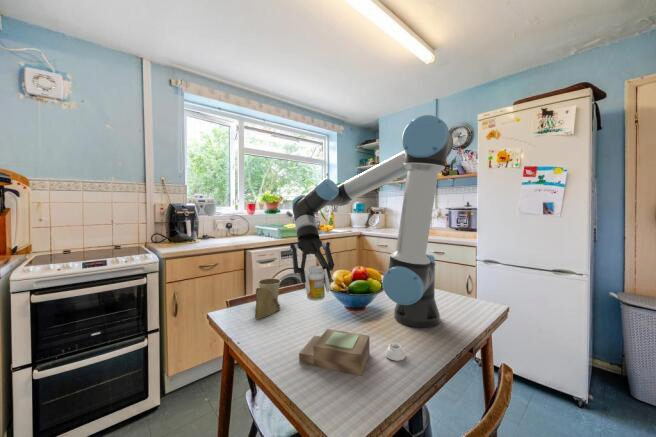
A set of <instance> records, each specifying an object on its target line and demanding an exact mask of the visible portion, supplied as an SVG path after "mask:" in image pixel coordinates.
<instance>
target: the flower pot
mask: <svg viewBox="0 0 656 437" xmlns="http://www.w3.org/2000/svg"><path fill="white" fill-rule="evenodd" d="M281 282H282V279H279V278H275V277H274V278H263V279H260V280H258V281H257V284H258V286H259V287H258V288H265V289H267V290H269V291H271V293H272V294H273V296H274V297H275V298H276V299H277V301H278V299H279V298H278V297H279V292H280V286H281Z"/></svg>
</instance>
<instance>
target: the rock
mask: <svg viewBox="0 0 656 437" xmlns="http://www.w3.org/2000/svg"><path fill="white" fill-rule="evenodd" d="M254 309H255V311H254V318H255V319H256V321H257V320H260V319H262V318H266V317H269V316H271V315H272V314H274V313H276V312H277V311H279V310H281V306H280V304H279V302H278V300H277V299H276V298H275V297H274V296H273V294H272V293H271V291H269V290H267V289H265V288H260V287H257V288H256V289H255V308H254Z"/></svg>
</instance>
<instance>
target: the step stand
mask: <svg viewBox="0 0 656 437" xmlns="http://www.w3.org/2000/svg"><path fill="white" fill-rule="evenodd" d="M369 356H370V335H368V334H362V333H355V332H349V331H344V330H336V329H330V328H327V329H325V331H324V332H323V333H322V335H321V336H320V335H313V336H312V338H311V339H310V340H308V342H307V343H306V344H305V345H304V347H303V348H302V349H301V350H300V351H299V353H298V363H299V364H304V365H309V366H313V367H318V368H323V369H328V370H333V371H336V372H342V373H346V374H352V375H357V376H361V377H362V374H363V371H364V369H365V366H366V364H367V361H368V358H369Z"/></svg>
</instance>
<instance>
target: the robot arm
mask: <svg viewBox="0 0 656 437" xmlns="http://www.w3.org/2000/svg"><path fill="white" fill-rule="evenodd" d="M401 143H402V147H403V151H401V152H399V153H398V154H396V155H394V156H391V157H390V158H388V159H385V160H384V161H382V162H380V163H379V164H377V165H374V166H373V167H371V168H369V169H367V170H365V171H363V172H362V173H359V174H358V175H355V176H353V177H351V178H350V179H348V180H345V181H344V182H342V183H340V184H338V185H337V184H336V183H335V182H334V181H333V180H331V179H330V178H325V177H324V179H322V180H321V181H320V182H318V183H317V184H316V185H315V186H314V187H313V188H312V189H311V190H310V191H309V192H307V194H299V195H298V196H296V197H295V196H294V198H293V200H292V204H291V205H292V213H293V218H294V224H295V225H294V226H295V231H296V238H297V242H296V243H295V244H294V243H290V246H289V252H290V253H291V256H292V266H293V267H292V269H293V273H294V274H298V275H299V276H300V282H301V284H304V286H305V292H306V293H305V294H306V295H307V294H309V292H310V285H309V279H308V274H309V272H308V269H307V270H305V267H306V261H307V256H308V255H314V257H315V258H316V259H317V261H318V263H319V265H320V266H321V267H322V273H323V274H324V287H325V291H326V293H329V292H330V290H331V283H330V281H331V280H332V274H331V272H332V271H333V270H334V268H335V262H334V258H333V256H332V252H331V248H330V246H331V242H329V241H327V242H323V241H322V240H321V239H320V234H319V229H318V225H317V222H316V214H317V213H318V212H320V211H321V210H322V209H324V207H326V206H339V207H341V206H342V207H343V206H345V205H348V204H350V203H351V202H352V201H353V200H355V199H357V198H359V197H361V196H363V195H365V194H367V193H370V192H372V191H374V190H376V189H378V188H380V187H383V186H384V185H386V184H389V183H390V182H393V181H395V180H397V179H398V178H402V177H403V176H405V175H406V179H405V186H404V193H403V198H402V207H401V213H400V221H399V227H398V228H399V229H398V234H397V235H398V236H397V241H396V242H397V243H396V249H395V250H394V251H393V252H391V253H390V256H389V263H388V269H387V270H386V271H385V272H384V274H383V277H382V281H381V283H382V288H383V291H384V293H385V295H386V296H387V298H389V299H390V300H391V301H392V302H394V303H396V304H395V308H394V311H393V312H394V314H393V315H394V319H395V320H396V321H397V322H398V323H400V324H402V325H405V326H409V327H412V328H419V329H420V328H421V329H423V328H433V327H436V326H438V325H439V324H440V323H441V322H440V321H441V320H440V319H441V318H440V317H441V315H440V312H439V309H438V306H437V302H436V298H435V295H436V294H435V288H436V287H435V286H436V284H435V281H436V279H435V278H436V259H435V256H434V255H433V254H428V253H427V248H428V242H429V236H430V231H431V230H430V228H431V223H432V216H433V211H434V210H433V209H434V203H435V197H436V190H437V183H438V178H439V173H441V172H442V171H443V170H444V169H446V163H447V158H448V157H449V156H450V154H451V152H452V151H453V147H454V139H453V136H452V134H451V131H450V130H449V127H448V125H447V124H446V122H445V121H444V120H443V119H442V118H440V117H438V116H435V115H432V114H425V115H420V116H418V117H415V118H414V119H412V120H411V121H410V122H409V123H407V124H406V127H405V128H404V130H403V132H402V135H401ZM321 248H322V249H323V251H324V255H325V256H324V255H323V254H322V251H321ZM298 250H300V251H301V252H302V257H301V264H300V267H299V262H298ZM325 258H326V259H325Z"/></svg>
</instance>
